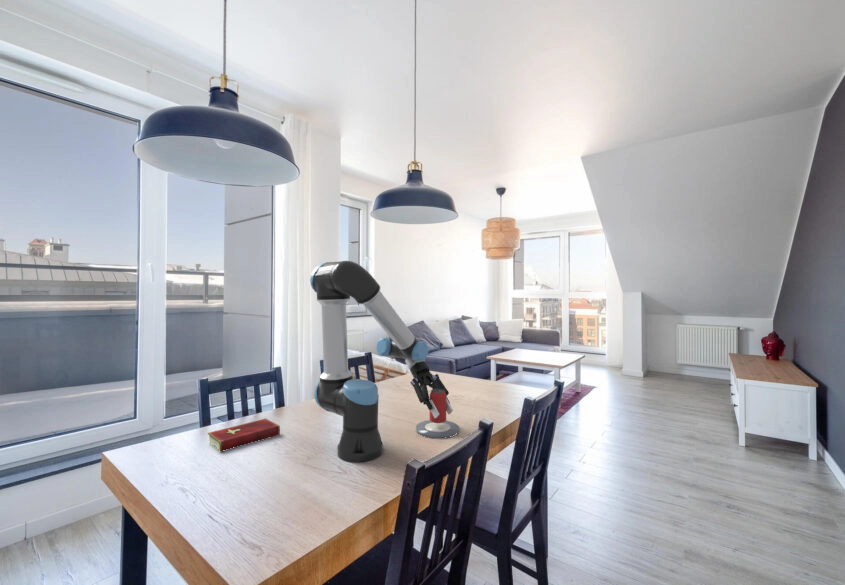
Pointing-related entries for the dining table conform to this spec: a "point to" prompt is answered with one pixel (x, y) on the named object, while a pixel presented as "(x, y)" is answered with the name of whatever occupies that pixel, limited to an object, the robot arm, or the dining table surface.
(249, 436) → the hardcover book
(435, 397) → the beer can
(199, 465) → the dining table surface
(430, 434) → the plate
